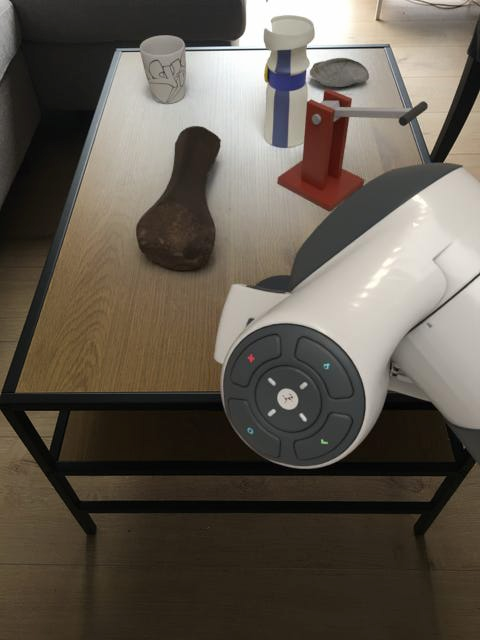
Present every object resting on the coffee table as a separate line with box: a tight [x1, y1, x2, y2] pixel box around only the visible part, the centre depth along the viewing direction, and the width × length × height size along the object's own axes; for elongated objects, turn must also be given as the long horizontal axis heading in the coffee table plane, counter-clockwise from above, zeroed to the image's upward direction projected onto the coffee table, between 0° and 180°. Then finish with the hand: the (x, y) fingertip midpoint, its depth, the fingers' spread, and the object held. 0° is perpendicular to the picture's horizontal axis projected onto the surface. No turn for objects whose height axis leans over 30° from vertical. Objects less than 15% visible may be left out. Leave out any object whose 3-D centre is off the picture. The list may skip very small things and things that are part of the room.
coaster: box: [254, 274, 291, 293], centre depth 73 cm, size 10×10×1 cm
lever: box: [320, 100, 429, 127], centre depth 75 cm, size 16×5×2 cm, turn 47°
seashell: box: [309, 57, 370, 88], centre depth 108 cm, size 12×8×5 cm
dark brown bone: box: [135, 125, 222, 272], centre depth 83 cm, size 11×10×28 cm
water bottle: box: [263, 0, 316, 149], centre depth 89 cm, size 8×9×25 cm
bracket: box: [277, 88, 365, 212], centre depth 83 cm, size 11×9×15 cm
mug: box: [139, 34, 187, 105], centre depth 105 cm, size 11×8×10 cm
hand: (344, 334), depth 53 cm, fingers open, 8 cm apart
